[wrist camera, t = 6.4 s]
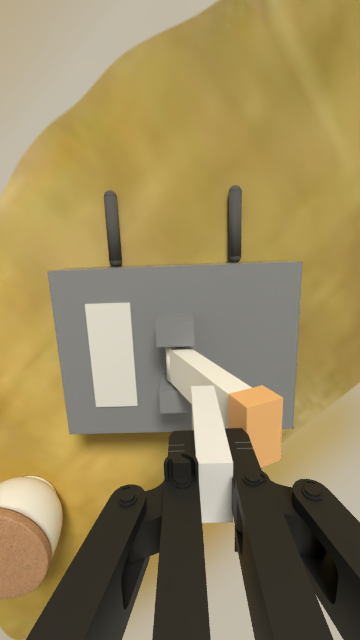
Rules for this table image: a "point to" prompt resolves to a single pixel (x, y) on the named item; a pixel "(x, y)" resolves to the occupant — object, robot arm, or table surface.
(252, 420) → the breaker lever
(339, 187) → the table surface
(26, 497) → the lidded jar
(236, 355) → the breaker box
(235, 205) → the router antennas
